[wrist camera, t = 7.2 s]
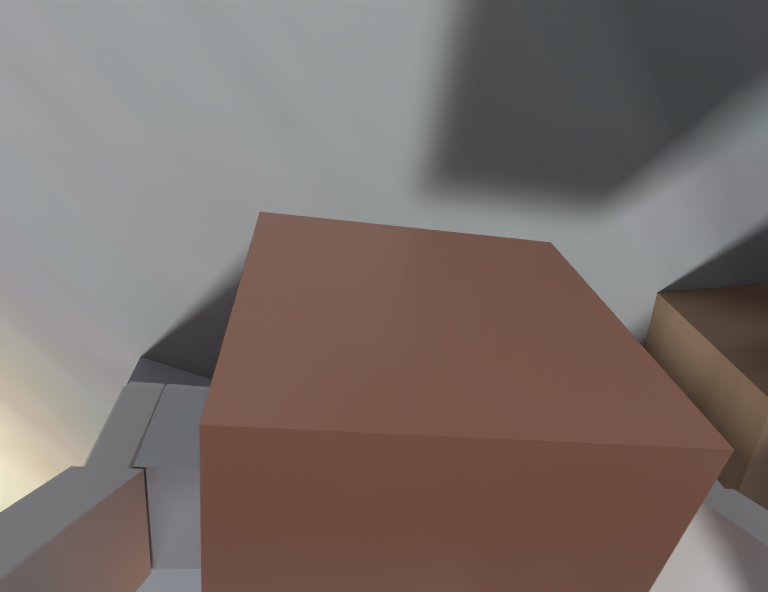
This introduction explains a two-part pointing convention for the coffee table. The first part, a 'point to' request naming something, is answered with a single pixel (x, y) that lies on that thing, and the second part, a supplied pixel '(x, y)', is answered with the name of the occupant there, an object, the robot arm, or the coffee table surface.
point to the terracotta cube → (437, 422)
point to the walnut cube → (721, 370)
